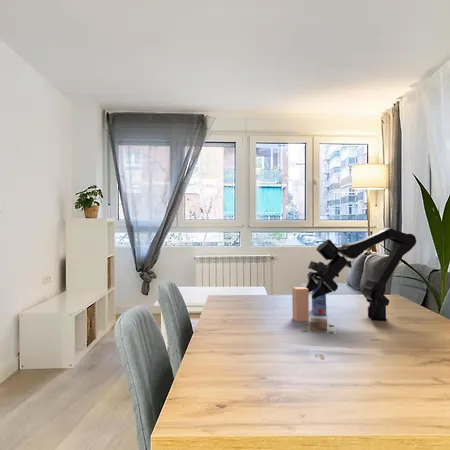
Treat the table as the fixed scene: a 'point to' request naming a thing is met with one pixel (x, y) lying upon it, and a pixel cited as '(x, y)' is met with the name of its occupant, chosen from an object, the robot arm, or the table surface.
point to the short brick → (318, 324)
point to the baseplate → (330, 330)
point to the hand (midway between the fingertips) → (308, 295)
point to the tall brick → (300, 303)
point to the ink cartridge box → (319, 304)
